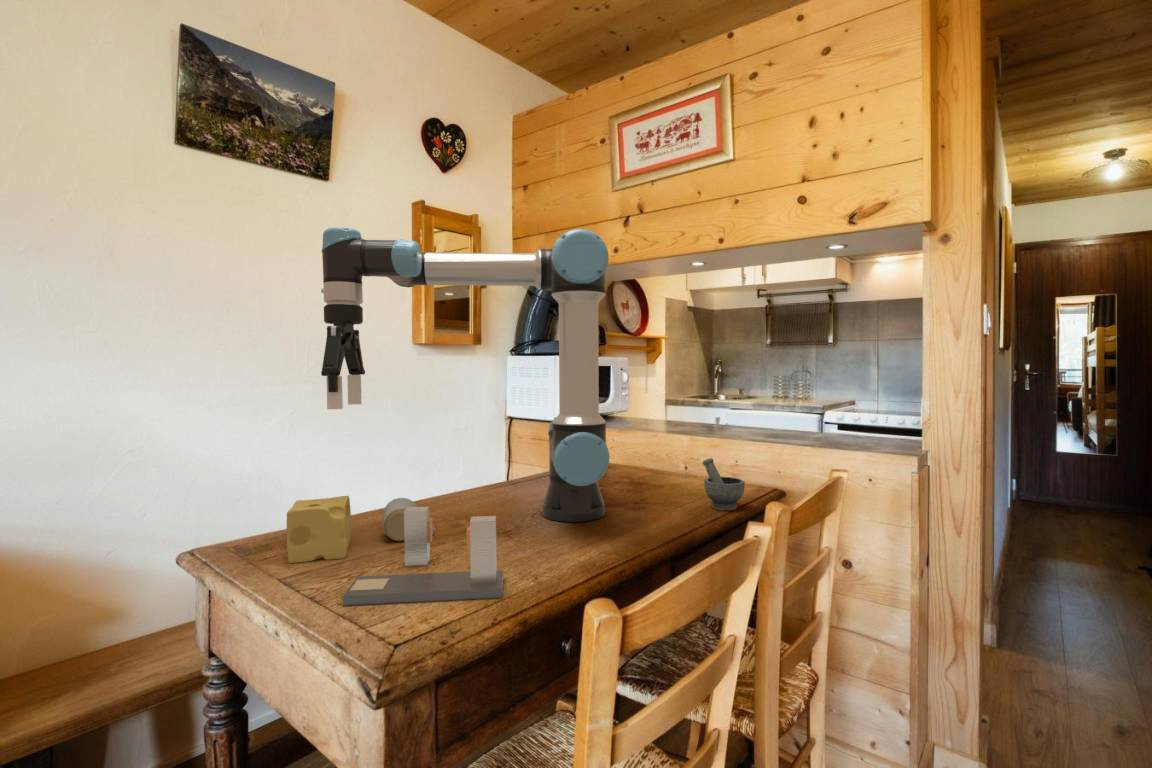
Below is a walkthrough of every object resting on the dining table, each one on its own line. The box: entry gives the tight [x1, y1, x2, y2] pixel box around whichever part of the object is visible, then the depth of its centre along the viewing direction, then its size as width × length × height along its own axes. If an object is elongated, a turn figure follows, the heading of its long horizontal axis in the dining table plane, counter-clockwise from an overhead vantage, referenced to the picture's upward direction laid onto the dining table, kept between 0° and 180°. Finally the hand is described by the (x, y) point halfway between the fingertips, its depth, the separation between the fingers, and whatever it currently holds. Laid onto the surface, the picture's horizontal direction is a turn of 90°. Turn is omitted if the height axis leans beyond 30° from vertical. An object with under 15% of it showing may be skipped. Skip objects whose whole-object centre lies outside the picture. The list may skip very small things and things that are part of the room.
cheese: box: [286, 495, 352, 564], centre depth 111 cm, size 10×11×10 cm
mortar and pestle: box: [702, 458, 746, 511], centre depth 144 cm, size 11×9×12 cm
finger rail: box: [342, 515, 504, 607], centre depth 91 cm, size 24×8×12 cm, turn 96°
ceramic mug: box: [382, 497, 436, 542], centre depth 121 cm, size 11×8×8 cm
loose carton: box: [403, 506, 433, 567], centre depth 105 cm, size 5×3×10 cm, turn 96°
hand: (345, 406), depth 119 cm, fingers open, 13 cm apart
